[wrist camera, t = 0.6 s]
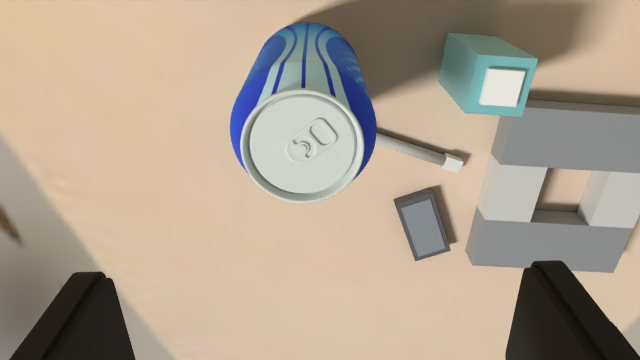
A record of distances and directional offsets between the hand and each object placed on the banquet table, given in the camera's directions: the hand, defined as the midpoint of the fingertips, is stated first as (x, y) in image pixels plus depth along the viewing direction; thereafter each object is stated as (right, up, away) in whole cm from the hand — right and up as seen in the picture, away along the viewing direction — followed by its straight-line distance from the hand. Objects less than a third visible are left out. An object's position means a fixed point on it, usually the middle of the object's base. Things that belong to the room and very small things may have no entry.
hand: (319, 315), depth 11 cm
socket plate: (+22, +3, +33) cm, 40 cm away
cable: (+8, +6, +31) cm, 33 cm away
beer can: (-1, +12, +28) cm, 31 cm away
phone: (+10, -1, +35) cm, 36 cm away
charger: (+12, +13, +28) cm, 33 cm away
